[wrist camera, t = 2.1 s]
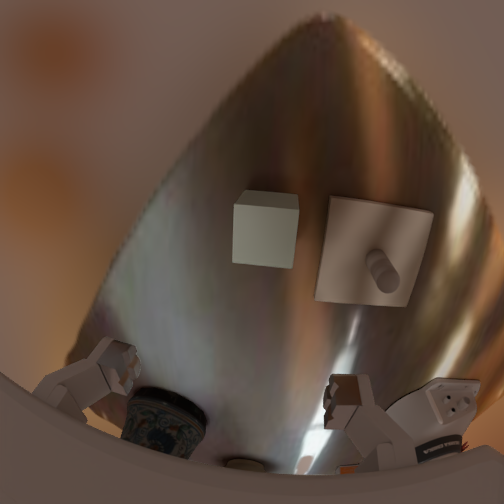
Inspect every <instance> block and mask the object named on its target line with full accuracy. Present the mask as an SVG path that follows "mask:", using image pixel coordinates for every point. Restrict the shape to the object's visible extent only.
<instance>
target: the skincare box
mask: <svg viewBox="0 0 504 504" xmlns="http://www.w3.org/2000/svg"><path fill="white" fill-rule="evenodd" d="M359 465H360V464H358V465H347V466H338V468H337V469H336V474H353V473H355V472H354V470H355V469H356V468H357V467H358V466H359Z"/></svg>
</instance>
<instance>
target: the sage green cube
mask: <svg viewBox="0 0 504 504" xmlns="http://www.w3.org/2000/svg"><path fill="white" fill-rule="evenodd" d="M298 219H299V202H298V194H289V193H278V192H267V191H255V190H245V191H244V192H243V193H242V194H241V196H240V197H239V198H238V200H237V201H236V202H235V204H234V220H233V257H232V263H241V264H251V265H260V266H270V267H279V268H289V269H292V268H293V261H294V253H295V245H296V236H297V228H298Z"/></svg>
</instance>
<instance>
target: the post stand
mask: <svg viewBox="0 0 504 504" xmlns="http://www.w3.org/2000/svg"><path fill="white" fill-rule="evenodd" d="M433 216H434V214H433V213H432V212H430V211H427V210H422V209H417V208H411V207H405V206H400V205H394V204H388V203H382V202H375V201H369V200H362V199H355V198H348V197H340V196H332V195H330V197H329V204H328V212H327V219H326V226H325V233H324V239H323V245H322V252H321V258H320V263H319V269H318V275H317V280H316V286H315V291H314V301H324V302H336V303H349V304H363V305H379V306H396V307H406V306H407V303H408V301H409V298H410V295H411V292H412V289H413V287H414V284H415V281H416V278H417V275H418V271H419V268H420V265H421V262H422V258H423V255H424V251H425V248H426V244H427V241H428V237H429V233H430V229H431V225H432V220H433Z"/></svg>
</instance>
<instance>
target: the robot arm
mask: <svg viewBox="0 0 504 504" xmlns="http://www.w3.org/2000/svg"><path fill="white" fill-rule="evenodd" d="M136 353H137V349H136V346H134V345H131V344H128V343H125V342H121V341H118V340H115V339H111V338H108V337H105V338H103V339H102V340H101V341H100V343H99V344H98V345H97V346H96V348H95V349H94V350H93V352H92V353H91V354H90V356H89V357H88V358H87V360H86V359H82V360H80V361H78V362H76V363H73V364H71V365H69V366H67V367H64V368H62V369H60V370H58V371H55V372H53V373H51V374H48V375H46V376H45V377H44V378H43V380H42V381H41V382H40V383H39V384H38V386H37V387H36V388H35V390H34V391H33V392H32V393H30V392H28V391H27V390H25V389H24V388H22V387H21V386H19V385H18V384H17V383H15V382H14V381H12V380H11V379H9V378H8V377H7V376H5V375H4V374H3V373H1V372H0V504H504V455H502V454H501V453H500V452H498V451H497V450H495V449H494V448H492V447H490V446H488V445H482V446H479V447H476V448H473V449H470V450H468V451H465V452H462V451H464V450H465V449H466V448H467V447H468V446H469V445H468V446H466V444H467V442H466V443H465V444H463V445H462V436H463V434H464V432H465V431H466V429H467V428H468V426H469V425H470V423H471V421H472V420H473V418H474V416H475V414H476V411H477V405H476V401H475V396H476V395H477V393H478V391H479V389H480V385H481V384H480V381H478V380H457V379H442V378H437V379H434V380H433V381H431V382H430V383H428V384H427V385H426V386H424V387H423V388H421V389H419V390H417V391H415V392H413V393H411V394H409V395H407V396H405V397H403V398H402V399H400V400H398V401H397V402H396V403H394V404H393V405H392V406H391V407H390V408H389V409H388V410H387V411H386V412H385V411H384V410H383V409H382V408H381V407H380V406H379V405H375V403H374V398H373V393H372V388H371V384H370V379H369V376H368V375H367V374H356V375H355V374H332V375H331V376H330V378H329V385H328V386H326V389H325V392H324V397H323V408H324V409H325V410H326V412H325V414H324V429H339V430H344V431H345V433H346V434H347V435H348V437H349V438H350V440H351V441H352V442H353V444H354V445H355V447H356V448H357V449H358V451H359V452H360V453H361V455H362V456H363V458H364V460H363V462H362V463H361V464H360V465H359V466H358V467H357V468H356V469H355V470H354V472H355V473H353V474H336V475H292V474H275V473H263V472H254V471H246V470H238V469H232V468H226V467H220V466H214V465H209V464H204V463H200V462H195V461H191V460H187V459H183V458H179V457H175V456H171V455H168V454H164V453H161V452H158V451H155V450H151V449H148V448H145V447H142V446H139V445H136V444H134V443H131V442H128V441H125V440H123V439H120V438H118V437H115V436H113V435H110V434H108V433H106V432H103V431H101V430H98V429H96V428H94V427H92V426H90V425H88V424H86V423H87V418H86V416H85V415H84V413H83V412H82V410H84V409H86V408H87V407H89V406H90V405H92V404H93V403H95V402H96V401H98V400H99V399H101V398H102V397H104V396H105V395H107V394H108V393H110V392H111V391H113V392H116V393H119V394H122V395H126V396H127V395H128V393H129V391H130V390H131V388H132V386H133V384H132V380H134V379H136V378H137V377H138V375H139V373H140V369H141V362H140V359H139V357H138V356H137V355H136ZM465 446H466V447H465Z"/></svg>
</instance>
